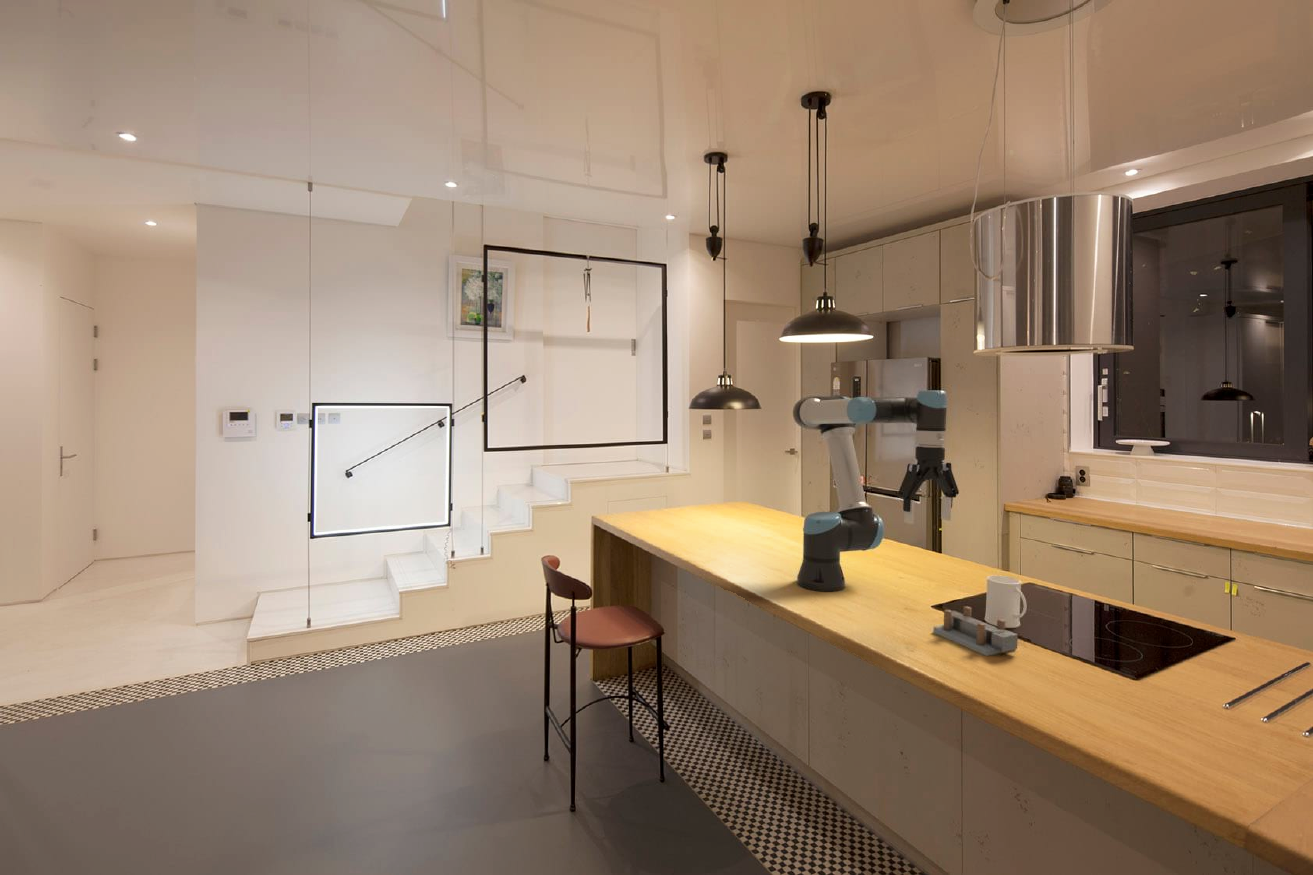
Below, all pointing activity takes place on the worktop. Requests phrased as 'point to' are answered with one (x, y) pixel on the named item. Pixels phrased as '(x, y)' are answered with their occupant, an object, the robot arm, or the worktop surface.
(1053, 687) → the worktop surface
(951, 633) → the peg rack
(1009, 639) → the spanner bar
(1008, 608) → the mug
